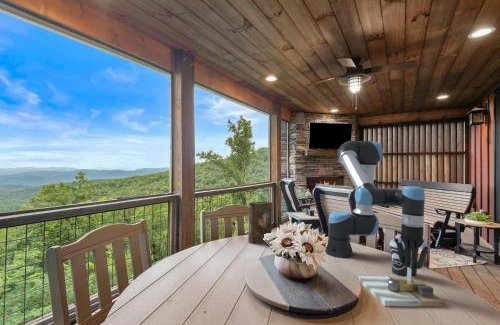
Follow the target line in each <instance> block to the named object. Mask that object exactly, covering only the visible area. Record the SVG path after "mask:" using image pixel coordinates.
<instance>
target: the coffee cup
mask: <svg viewBox="0 0 500 325" xmlns="http://www.w3.org/2000/svg"><path fill="white" fill-rule="evenodd" d="M394 239H395V238H393V239H391V240H390V241H389V243H388V245H389V246H390V256H391V257H390V259H391V272H392V274H394V275H396V276H398V277H407V274H405V265H404V264H402V263H400V259H399V254H398V249H397V244H396V242H395V241H394ZM402 244H403V248H404V253H405V245H404V243H403V242H402Z"/></svg>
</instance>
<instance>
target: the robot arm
mask: <svg viewBox="0 0 500 325" xmlns="http://www.w3.org/2000/svg"><path fill="white" fill-rule="evenodd" d="M383 155H384V152H383V148H382V146H381V144H380V143H379V142H378V141H372V140H371V141H370V140H348V141H346V142H344V143H343V144H341V146H340V147H338V150H337V159H338V161H339V164H341V165H342V166H343V167H344V168H345V171H346V172H347V174H348V176H349V178H350V180H351V182H352V184H353V186H354V188H355V192H354V198H355V199H354V201H355V208H354V209H352V214H351V212H349V211H343V210H342V211H335V212H331V213H330V214H329V216H328V232H327V233H328V238H327V241H328V245H327V247H326V250H325V249H324V252H325V253H326V254H327V255H329V256H331V257H337V258H351V257H352V256H353V253H354V252H353V247H352V243H351V239H350V238H351V236H361V237H363V236H365V237H370V236H371V237H372V236H375V235H376V234H377V232H378V231H379V227H380V221H379V218H378V216H377V215H376V213H375V212H374V211H373V206H376V207H377V206H378V207H379V206H380V207H383V206H385V207H399V208H401V223H402V224H401V226H400V227H401V229H400V230H401V234H400V236H399V237H396V238H393V239H394V241H395V242H396V244H397V249H398V254H399V259H400V263H402V264H404V265H405V274H407V276H406V277H407V281H415V278H416V277H417V273H418V270H420V269H422V268H423V267H424V264H425V261H426V258H427V255H428V252H429V251H430V250H431V248H432V247H431V246H430V245H428V244H426V243H425V240H424V230H425V229H424V225H425V224H424V222H425V219H424V218H425V202H426V201H425V198H426V196H425V188H424V187H421V186H412V185H411V186H410V185H407V186H406V185H405V186H403V187H402V188H401V189H399V188H396V187H395V188H393V187H391V188H378V187H377V188H376V187H375V185H374V181H375V169H376V168H377V166H378V163H380V162H382V159H383ZM402 242H403V243H404V245H405V253H404V248H403V244H402ZM420 248H421V251H420V253H419V249H420Z"/></svg>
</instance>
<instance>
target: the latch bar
mask: <svg viewBox="0 0 500 325" xmlns="http://www.w3.org/2000/svg"><path fill="white" fill-rule="evenodd" d="M418 286H428V284H427V283H426V282H424V281H423V280H414V281H398V280H395V279H388V289H389V290H391V291H394V292H399V291H418Z"/></svg>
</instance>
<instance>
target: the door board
mask: <svg viewBox="0 0 500 325" xmlns="http://www.w3.org/2000/svg"><path fill="white" fill-rule="evenodd" d="M388 279H395V280H398V281H407V276H377V275H376V276H375V275H373V276H371V275H370V276H369V275H368V276H366V275H364V276H363V275H362V276H359V275H358V282H359V283H360V284H361V285H362V286H363V287H364V288H366V290H367V291H368V292H370V294H372V296H374V297H375V298H376V299H377V300H378V301H379V302H380V303H381V304H382V305H383V306H384V307H445V306H444V304H445V301H444V300H443V299H442V298H440V297H439V296H437V295H436V294H434V287H432V286H431V285H427V286H418V291H399V292H394V291H391V290H389V289H388Z"/></svg>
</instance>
